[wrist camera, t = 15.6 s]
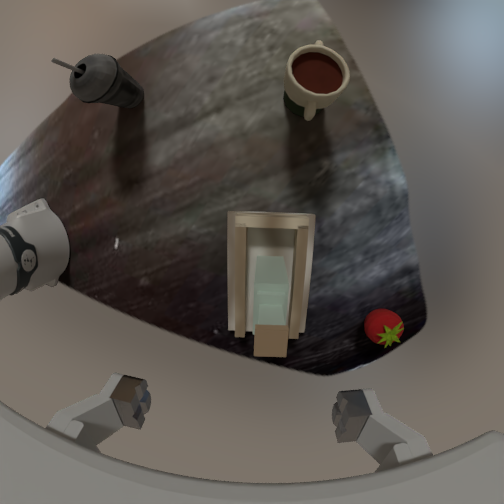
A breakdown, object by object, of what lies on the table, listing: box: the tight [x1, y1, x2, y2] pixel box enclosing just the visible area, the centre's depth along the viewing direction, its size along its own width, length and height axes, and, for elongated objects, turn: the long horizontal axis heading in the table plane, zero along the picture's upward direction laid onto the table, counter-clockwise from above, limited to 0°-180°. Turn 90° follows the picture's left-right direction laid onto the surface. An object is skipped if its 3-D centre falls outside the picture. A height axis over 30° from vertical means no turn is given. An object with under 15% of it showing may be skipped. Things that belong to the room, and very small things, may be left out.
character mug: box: [283, 40, 350, 121], centre depth 30 cm, size 11×7×13 cm, turn 171°
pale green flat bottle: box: [253, 256, 289, 357], centre depth 34 cm, size 7×4×18 cm, turn 179°
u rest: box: [228, 211, 315, 339], centre depth 42 cm, size 13×20×5 cm, turn 179°
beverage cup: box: [52, 54, 144, 108], centre depth 27 cm, size 7×7×20 cm
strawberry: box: [364, 309, 404, 348], centre depth 41 cm, size 6×8×10 cm
